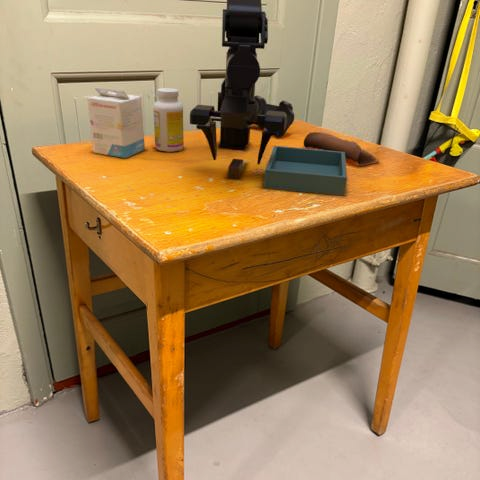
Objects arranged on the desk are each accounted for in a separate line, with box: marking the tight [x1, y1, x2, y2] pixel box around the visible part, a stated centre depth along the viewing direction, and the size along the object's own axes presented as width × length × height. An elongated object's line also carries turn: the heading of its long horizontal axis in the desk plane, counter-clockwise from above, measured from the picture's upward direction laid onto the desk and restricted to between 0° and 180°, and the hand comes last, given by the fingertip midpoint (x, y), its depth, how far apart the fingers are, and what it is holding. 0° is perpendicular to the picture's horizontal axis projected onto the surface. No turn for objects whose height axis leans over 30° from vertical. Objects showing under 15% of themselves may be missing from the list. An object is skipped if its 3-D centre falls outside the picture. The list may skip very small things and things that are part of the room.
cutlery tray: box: [263, 145, 348, 197], centre depth 108 cm, size 16×19×4 cm
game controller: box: [248, 94, 295, 139], centre depth 140 cm, size 16×7×10 cm, turn 52°
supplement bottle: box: [152, 87, 185, 153], centre depth 119 cm, size 7×7×13 cm
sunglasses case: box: [303, 131, 379, 167], centre depth 124 cm, size 18×7×7 cm
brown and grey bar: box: [227, 158, 246, 180], centre depth 110 cm, size 12×2×2 cm, turn 172°
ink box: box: [87, 87, 146, 159], centre depth 114 cm, size 9×8×13 cm
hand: (236, 161), depth 108 cm, fingers open, 9 cm apart
